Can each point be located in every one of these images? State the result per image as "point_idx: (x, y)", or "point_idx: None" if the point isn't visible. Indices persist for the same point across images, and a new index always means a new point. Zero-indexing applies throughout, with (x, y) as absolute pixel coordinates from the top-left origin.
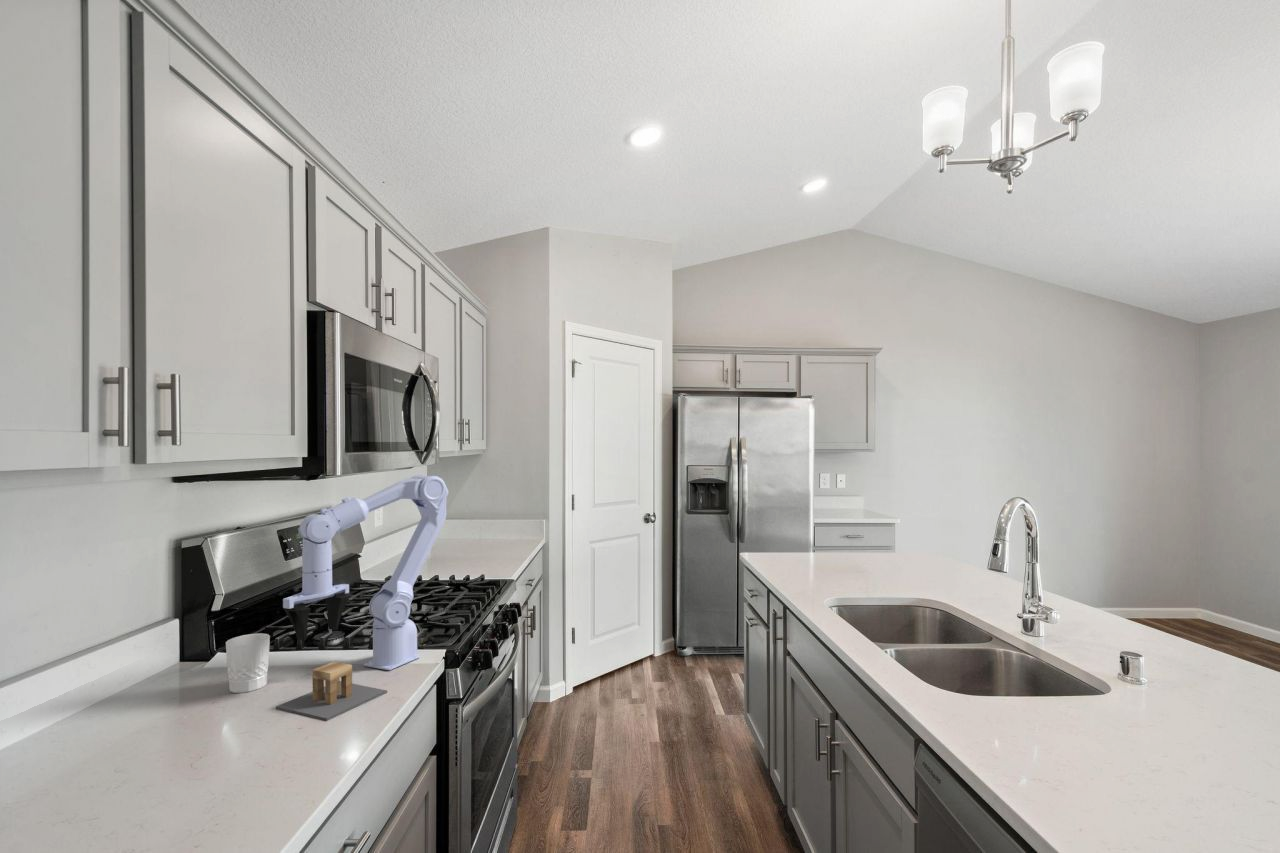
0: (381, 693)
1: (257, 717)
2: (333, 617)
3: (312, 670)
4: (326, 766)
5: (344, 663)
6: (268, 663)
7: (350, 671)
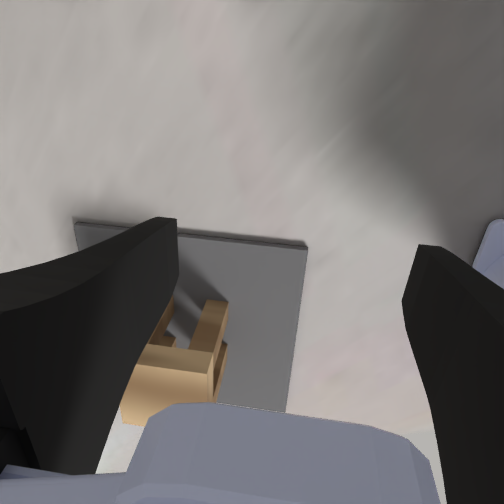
0: (265, 409)
1: (17, 221)
2: (436, 344)
3: None
4: None
5: None
6: None
7: None
